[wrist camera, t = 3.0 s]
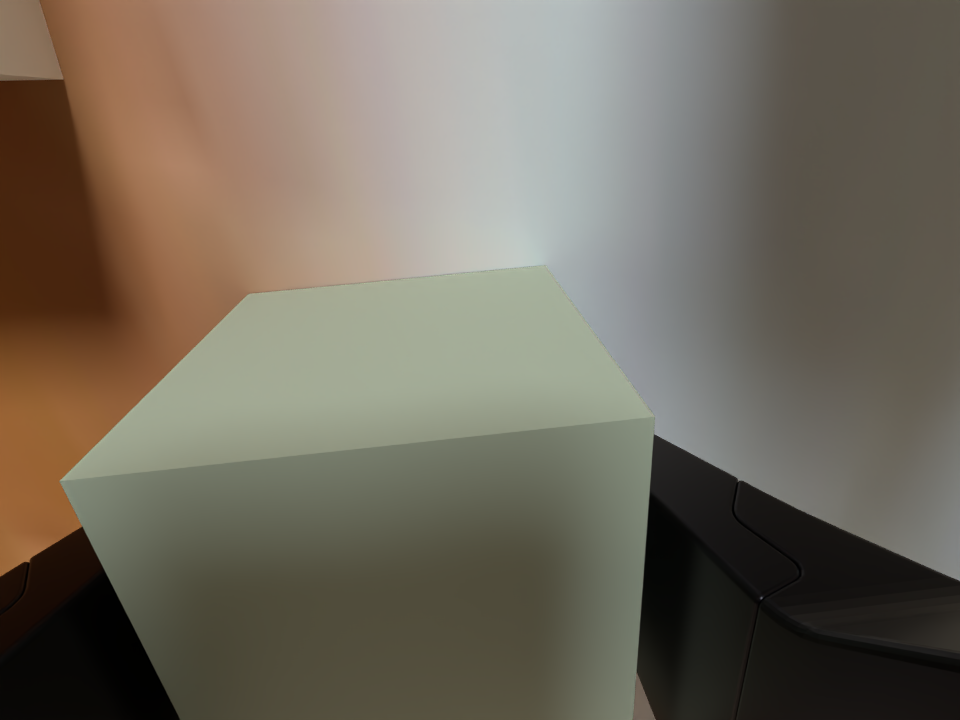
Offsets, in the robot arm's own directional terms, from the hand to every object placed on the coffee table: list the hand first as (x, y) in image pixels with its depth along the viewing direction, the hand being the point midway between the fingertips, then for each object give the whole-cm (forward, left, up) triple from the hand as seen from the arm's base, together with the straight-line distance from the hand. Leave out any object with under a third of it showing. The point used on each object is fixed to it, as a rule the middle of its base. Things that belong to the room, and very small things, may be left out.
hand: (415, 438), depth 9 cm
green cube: (0, 0, -1) cm, 1 cm away
